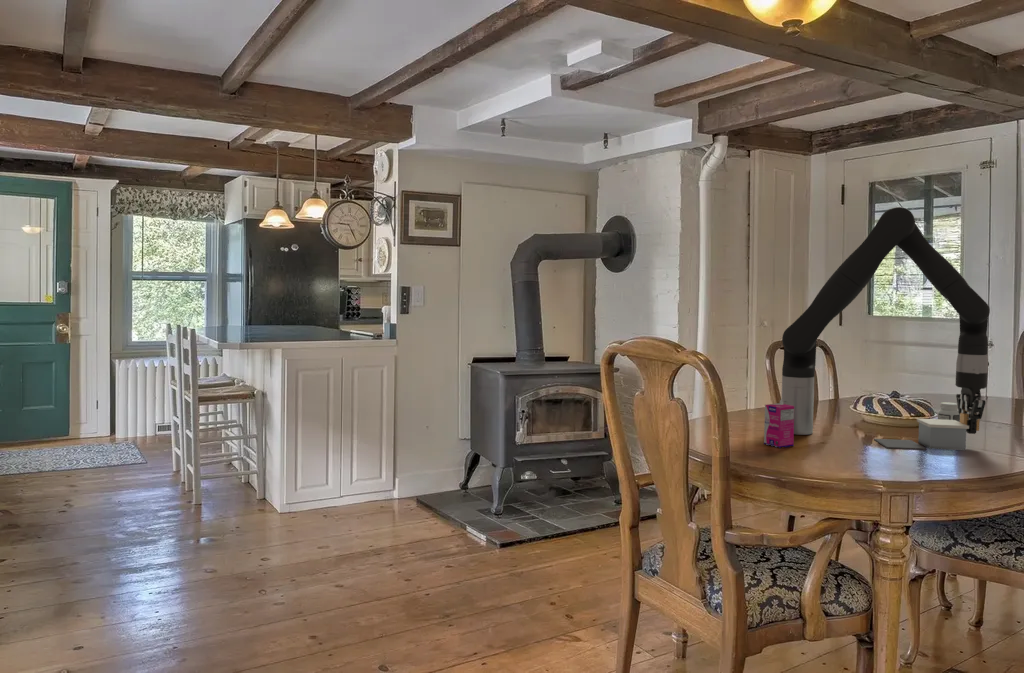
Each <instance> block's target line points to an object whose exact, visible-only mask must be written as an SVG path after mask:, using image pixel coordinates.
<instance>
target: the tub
mask: <svg viewBox="0 0 1024 673" xmlns="http://www.w3.org/2000/svg"><path fill="white" fill-rule="evenodd" d="M917 439H918V440H917V442H918V443H917V444H919V445H921V446H923V447H925V448H926V449H929V450H947V451H949V450H950V451H966V446H967V445H966V444H967V443H966V442H967V432H966V429H960V428H935V427H928V426H926V425H924V424H922V423H919V422H918V438H917Z"/></svg>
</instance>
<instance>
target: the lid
mask: <svg viewBox="0 0 1024 673" xmlns="http://www.w3.org/2000/svg"><path fill="white" fill-rule="evenodd" d="M967 420H968V419H967V413H960V422H958V421H956V420H942V419H938V418H936V419H935V418H916V422H917V423H918V424H919V423H922V424H924V425H926V426H928V427H935V428H960V429H966V430H967V429H969V426H968V425H967ZM980 420H981V419H978V420H977V428H976V432H977V431H978V432H979V431H980V422H981V421H980Z"/></svg>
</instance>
